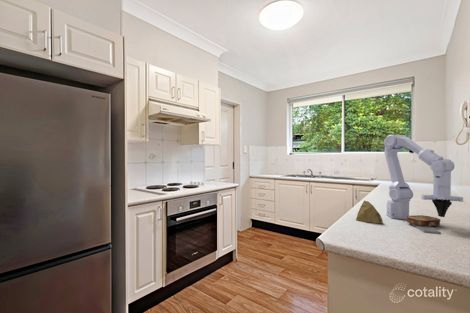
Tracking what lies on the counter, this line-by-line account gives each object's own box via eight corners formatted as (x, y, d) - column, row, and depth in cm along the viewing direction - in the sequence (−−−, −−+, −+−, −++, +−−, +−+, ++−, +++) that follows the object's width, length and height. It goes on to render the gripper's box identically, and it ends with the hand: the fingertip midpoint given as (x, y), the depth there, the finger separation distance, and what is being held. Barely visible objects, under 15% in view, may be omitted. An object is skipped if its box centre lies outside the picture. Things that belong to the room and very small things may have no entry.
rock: (389, 218, 110) (369, 210, 119) (384, 205, 107) (364, 199, 116) (375, 233, 107) (356, 224, 116) (370, 221, 104) (351, 213, 113)
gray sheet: (423, 232, 97) (423, 230, 97) (408, 222, 111) (408, 220, 111) (440, 233, 95) (440, 231, 95) (422, 223, 110) (422, 221, 110)
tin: (419, 220, 102) (402, 214, 110) (419, 227, 102) (401, 220, 110) (445, 220, 105) (426, 214, 113) (444, 226, 105) (425, 220, 114)
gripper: (427, 186, 100) (426, 217, 100) (468, 188, 96) (467, 220, 96) (419, 184, 107) (418, 213, 107) (457, 186, 103) (456, 216, 103)
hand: (441, 216), depth 102 cm, fingers closed
